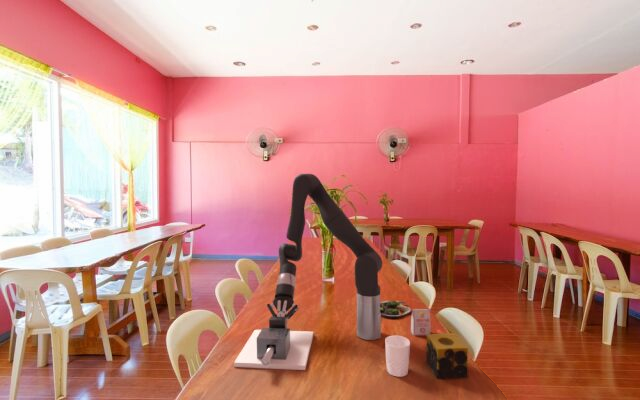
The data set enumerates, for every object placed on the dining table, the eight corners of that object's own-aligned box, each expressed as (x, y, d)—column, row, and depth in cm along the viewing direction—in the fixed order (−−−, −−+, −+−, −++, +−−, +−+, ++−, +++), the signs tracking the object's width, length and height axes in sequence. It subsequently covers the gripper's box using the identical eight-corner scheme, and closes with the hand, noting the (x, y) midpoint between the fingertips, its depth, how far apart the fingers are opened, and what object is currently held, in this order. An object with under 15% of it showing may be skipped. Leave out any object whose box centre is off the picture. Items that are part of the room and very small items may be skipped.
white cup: (392, 380, 101) (392, 348, 101) (380, 366, 109) (380, 337, 108) (414, 375, 103) (414, 345, 103) (401, 362, 111) (402, 333, 110)
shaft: (287, 340, 123) (286, 316, 122) (274, 371, 103) (274, 343, 103) (271, 339, 124) (271, 316, 123) (256, 370, 104) (255, 342, 103)
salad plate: (392, 300, 169) (392, 291, 168) (420, 312, 154) (420, 302, 153) (363, 308, 158) (363, 299, 158) (390, 322, 143) (390, 311, 143)
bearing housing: (290, 347, 119) (289, 328, 118) (285, 359, 111) (285, 339, 110) (263, 346, 119) (262, 327, 119) (257, 358, 112) (256, 338, 111)
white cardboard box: (410, 331, 134) (411, 307, 133) (427, 331, 134) (427, 307, 133) (413, 335, 130) (413, 311, 129) (430, 335, 130) (430, 311, 129)
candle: (454, 360, 112) (455, 332, 111) (469, 378, 102) (469, 347, 101) (425, 361, 112) (425, 333, 111) (436, 379, 101) (437, 348, 101)
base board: (313, 335, 131) (313, 331, 131) (305, 370, 107) (305, 365, 107) (255, 333, 133) (255, 329, 133) (234, 366, 109) (234, 362, 109)
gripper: (268, 282, 133) (260, 325, 121) (300, 283, 131) (295, 326, 120) (271, 290, 138) (264, 332, 127) (302, 291, 137) (297, 333, 126)
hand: (279, 329), depth 124 cm, fingers closed
